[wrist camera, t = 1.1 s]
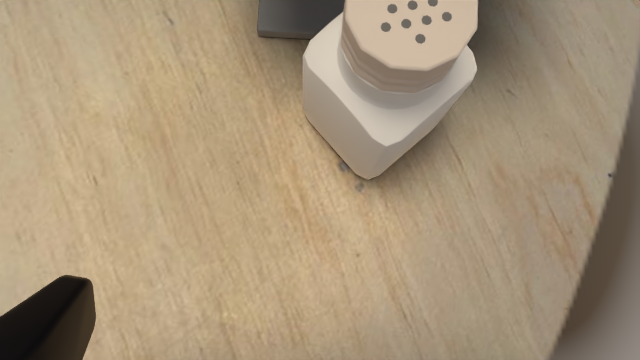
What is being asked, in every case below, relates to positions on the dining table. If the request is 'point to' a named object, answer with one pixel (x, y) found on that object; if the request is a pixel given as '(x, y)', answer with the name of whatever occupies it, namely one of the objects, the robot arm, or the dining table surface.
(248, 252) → the dining table surface
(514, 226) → the dining table surface
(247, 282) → the dining table surface
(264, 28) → the coffee maker
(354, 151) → the pepper shaker
